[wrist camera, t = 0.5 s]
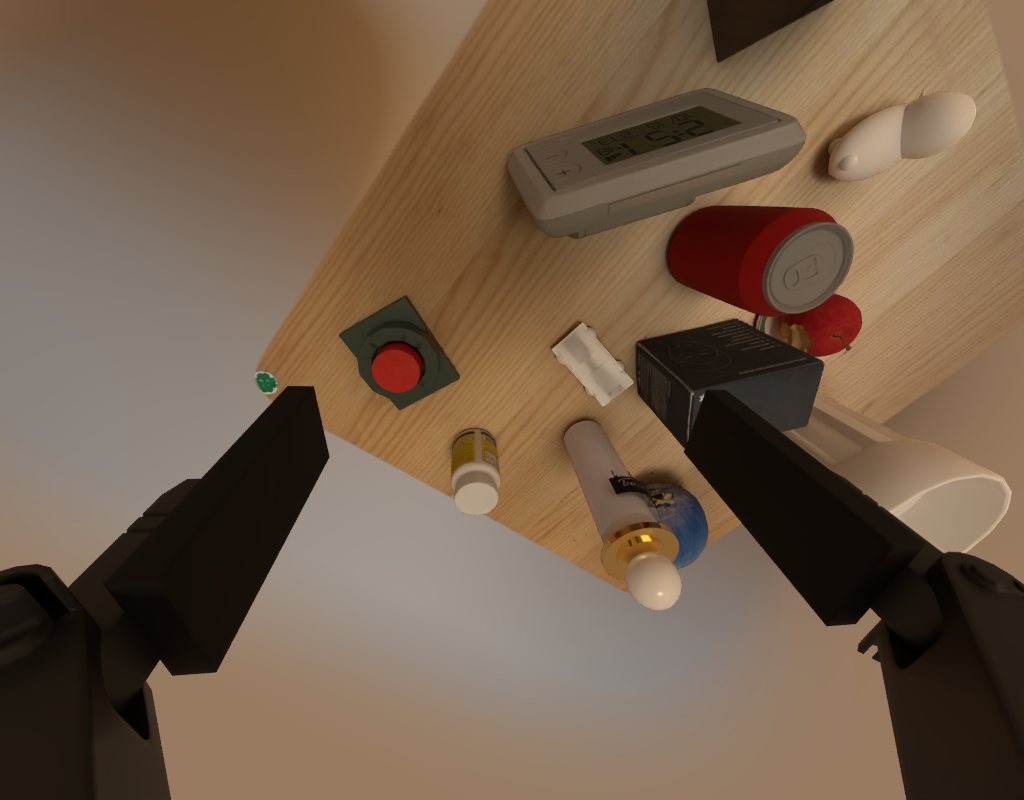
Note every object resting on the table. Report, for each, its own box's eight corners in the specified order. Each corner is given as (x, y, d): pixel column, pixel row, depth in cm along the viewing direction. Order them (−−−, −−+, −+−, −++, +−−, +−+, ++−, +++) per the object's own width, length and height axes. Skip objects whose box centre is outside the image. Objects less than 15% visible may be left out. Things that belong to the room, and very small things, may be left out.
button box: (340, 332, 33) (331, 342, 31) (406, 294, 32) (401, 301, 30) (400, 407, 37) (396, 420, 35) (460, 375, 36) (459, 387, 34)
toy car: (593, 399, 39) (600, 410, 37) (546, 349, 36) (550, 357, 34) (629, 370, 38) (638, 380, 36) (583, 316, 35) (590, 323, 33)
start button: (366, 356, 32) (361, 364, 31) (405, 334, 32) (401, 341, 30) (394, 391, 34) (390, 400, 33) (431, 371, 34) (429, 379, 32)
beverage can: (745, 262, 34) (868, 290, 24) (676, 299, 35) (765, 343, 25) (729, 188, 31) (863, 183, 20) (654, 232, 32) (745, 248, 22)
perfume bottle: (589, 461, 43) (671, 637, 26) (547, 445, 42) (604, 622, 24) (617, 423, 41) (727, 588, 24) (574, 404, 39) (658, 567, 22)
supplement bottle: (449, 460, 41) (445, 516, 34) (455, 424, 39) (453, 476, 32) (491, 464, 42) (497, 520, 35) (500, 430, 40) (507, 482, 33)
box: (636, 397, 40) (686, 456, 31) (634, 340, 37) (689, 387, 28) (732, 375, 40) (811, 428, 31) (739, 317, 37) (829, 356, 28)
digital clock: (716, 91, 28) (842, 37, 18) (695, 224, 32) (789, 234, 23) (501, 104, 27) (519, 53, 17) (510, 239, 31) (527, 256, 22)
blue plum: (703, 508, 34) (717, 590, 42) (694, 443, 41) (708, 524, 48) (609, 508, 38) (638, 584, 46) (614, 449, 45) (639, 524, 52)
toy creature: (905, 149, 31) (999, 139, 25) (810, 198, 32) (881, 198, 27) (908, 86, 29) (1012, 59, 23) (806, 141, 30) (882, 127, 24)
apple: (786, 365, 40) (839, 393, 34) (736, 332, 37) (784, 356, 32) (847, 299, 37) (916, 317, 31) (797, 258, 34) (863, 270, 29)
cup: (704, 411, 42) (839, 533, 27) (799, 349, 39) (1010, 445, 24) (740, 469, 47) (872, 599, 31) (827, 416, 44) (1016, 531, 29)
